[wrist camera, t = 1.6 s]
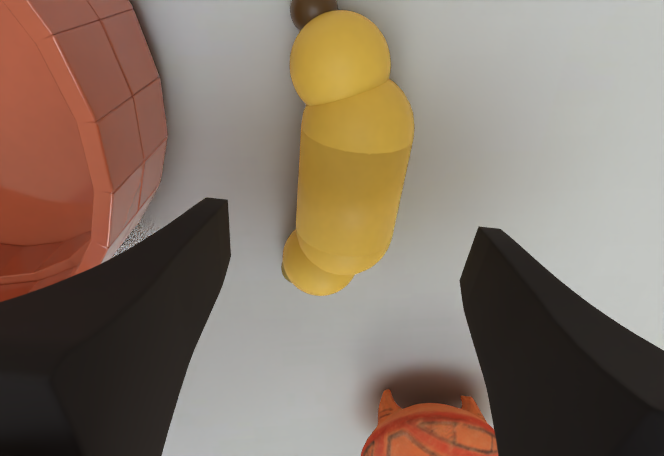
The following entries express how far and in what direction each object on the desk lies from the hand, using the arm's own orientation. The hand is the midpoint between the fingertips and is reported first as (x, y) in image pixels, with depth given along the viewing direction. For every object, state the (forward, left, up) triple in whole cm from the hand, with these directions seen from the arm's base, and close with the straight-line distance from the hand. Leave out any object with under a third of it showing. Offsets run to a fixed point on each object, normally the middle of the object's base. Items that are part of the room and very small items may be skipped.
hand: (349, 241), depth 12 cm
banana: (0, 0, -6) cm, 6 cm away
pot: (-16, -6, -6) cm, 18 cm away
